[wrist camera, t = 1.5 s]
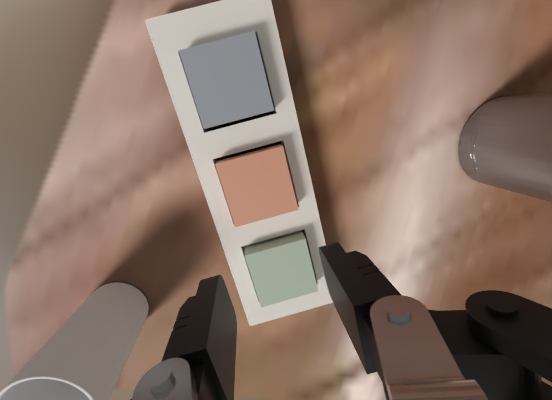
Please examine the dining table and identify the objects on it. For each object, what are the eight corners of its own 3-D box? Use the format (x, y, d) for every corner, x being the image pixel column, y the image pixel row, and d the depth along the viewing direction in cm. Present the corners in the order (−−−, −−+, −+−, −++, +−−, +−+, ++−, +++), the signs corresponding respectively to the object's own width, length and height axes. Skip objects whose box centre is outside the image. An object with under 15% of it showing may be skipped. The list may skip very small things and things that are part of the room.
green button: (301, 230, 29) (305, 238, 27) (313, 280, 31) (318, 291, 29) (244, 246, 29) (244, 255, 27) (260, 295, 30) (261, 307, 29)
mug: (132, 270, 30) (63, 362, 19) (162, 318, 32) (116, 428, 21) (46, 305, 30) (-75, 418, 19) (81, 350, 32) (-9, 478, 21)
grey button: (254, 37, 24) (254, 30, 22) (272, 110, 25) (274, 110, 23) (184, 56, 23) (178, 50, 22) (206, 128, 25) (203, 129, 23)
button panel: (266, 0, 25) (268, -12, 22) (331, 287, 33) (338, 300, 31) (154, 29, 24) (144, 19, 22) (249, 311, 33) (250, 326, 31)
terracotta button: (280, 143, 26) (282, 145, 24) (294, 203, 28) (298, 209, 26) (217, 160, 26) (215, 164, 24) (236, 219, 28) (235, 227, 26)
